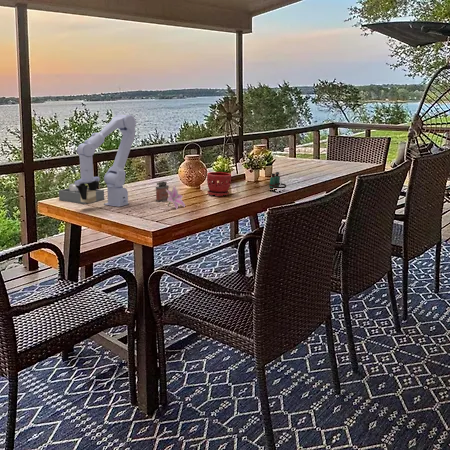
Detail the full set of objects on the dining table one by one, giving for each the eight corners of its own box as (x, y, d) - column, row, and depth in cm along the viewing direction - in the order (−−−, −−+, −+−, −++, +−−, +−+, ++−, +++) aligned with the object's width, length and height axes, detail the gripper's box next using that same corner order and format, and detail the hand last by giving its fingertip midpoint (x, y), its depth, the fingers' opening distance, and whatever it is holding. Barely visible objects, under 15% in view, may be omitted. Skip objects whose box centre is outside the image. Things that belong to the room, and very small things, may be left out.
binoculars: (283, 176, 286) (267, 172, 291) (280, 194, 289) (265, 190, 294) (291, 174, 293) (275, 171, 298) (288, 192, 296) (273, 188, 301)
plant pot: (217, 198, 273) (217, 175, 270) (202, 194, 282) (202, 172, 279) (235, 195, 281) (236, 173, 278) (220, 191, 290) (220, 170, 287)
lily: (163, 212, 244) (172, 196, 240) (155, 198, 252) (163, 182, 248) (183, 217, 251) (192, 201, 248) (175, 203, 259) (184, 188, 256)
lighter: (165, 199, 269) (165, 180, 266) (170, 199, 267) (170, 180, 264) (154, 201, 263) (154, 181, 260) (159, 202, 261) (158, 182, 258)
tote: (104, 199, 264) (103, 189, 263) (85, 204, 253) (85, 194, 252) (78, 195, 272) (78, 186, 271) (59, 200, 261) (58, 190, 260)
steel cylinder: (80, 197, 266) (80, 184, 264) (78, 199, 261) (77, 185, 259) (71, 196, 266) (70, 183, 264) (68, 198, 261) (67, 185, 259)
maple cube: (96, 201, 244) (95, 190, 242) (88, 203, 239) (88, 192, 238) (88, 199, 246) (87, 189, 245) (80, 201, 242) (80, 191, 240)
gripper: (82, 172, 231) (83, 202, 234) (103, 168, 243) (105, 196, 247) (70, 171, 234) (72, 200, 237) (92, 167, 246) (94, 194, 250)
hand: (88, 198), depth 242 cm, fingers closed on maple cube, 5 cm apart
